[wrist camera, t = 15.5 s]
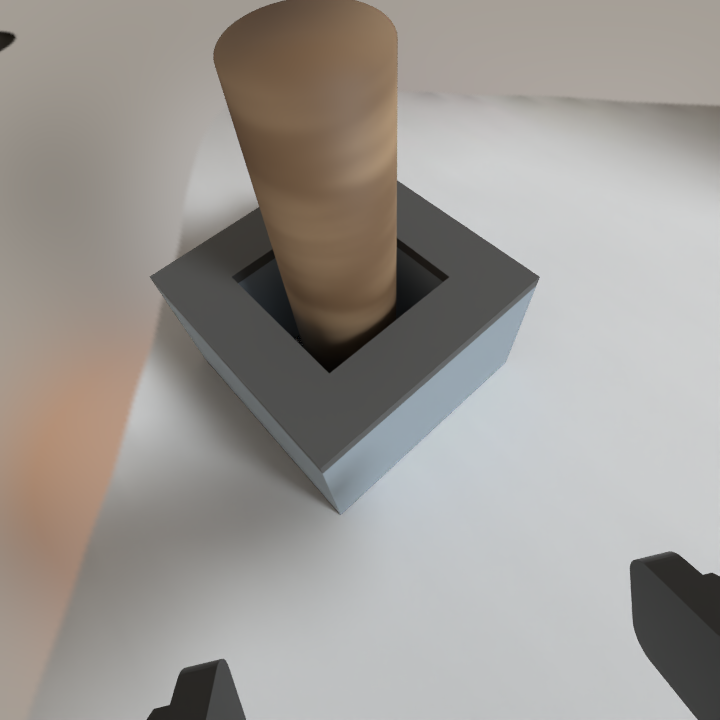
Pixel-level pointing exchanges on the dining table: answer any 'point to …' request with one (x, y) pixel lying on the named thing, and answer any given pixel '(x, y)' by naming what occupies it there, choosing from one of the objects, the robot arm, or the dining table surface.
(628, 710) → the dining table surface
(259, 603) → the dining table surface
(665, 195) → the dining table surface
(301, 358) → the collar
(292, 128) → the walnut peg
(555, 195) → the dining table surface
